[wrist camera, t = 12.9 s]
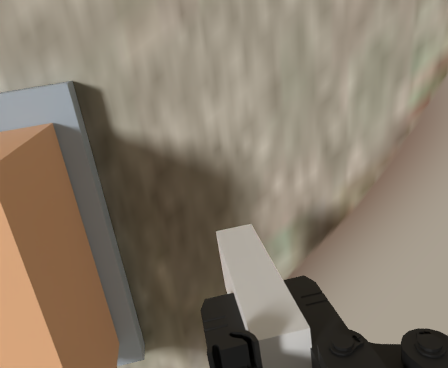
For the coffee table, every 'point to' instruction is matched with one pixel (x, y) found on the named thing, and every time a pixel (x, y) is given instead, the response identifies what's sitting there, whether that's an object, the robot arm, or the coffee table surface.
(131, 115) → the coffee table surface
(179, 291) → the coffee table surface
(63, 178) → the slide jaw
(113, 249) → the base
